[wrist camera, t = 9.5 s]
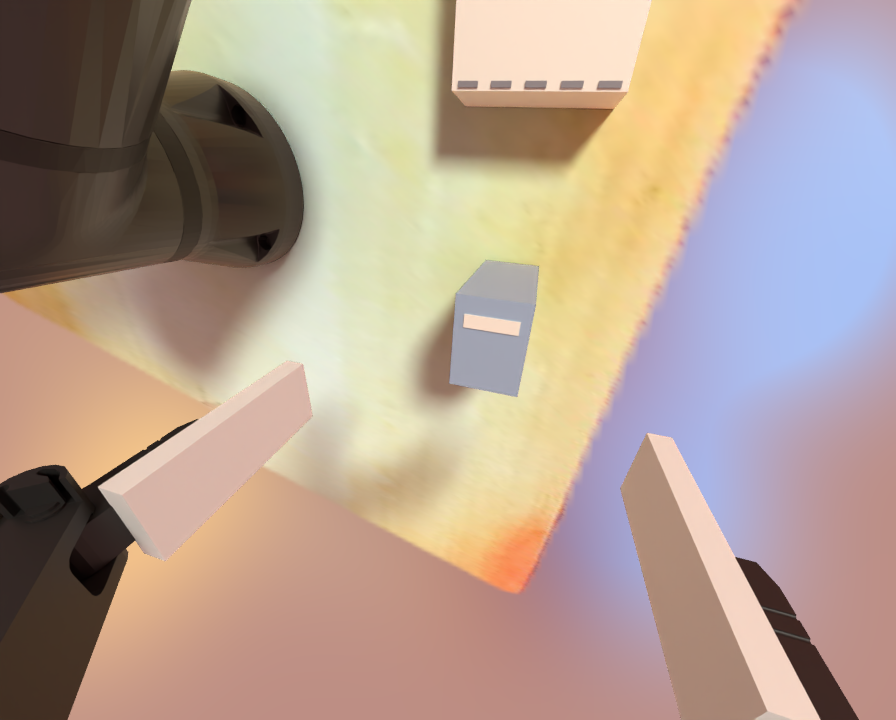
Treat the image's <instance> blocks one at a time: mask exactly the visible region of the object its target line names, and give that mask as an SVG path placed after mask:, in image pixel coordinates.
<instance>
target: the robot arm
mask: <svg viewBox="0 0 896 720" xmlns="http://www.w3.org/2000/svg"><path fill="white" fill-rule="evenodd" d="M190 4H191V0H0V293H4V292H10V291H15V290H21V289H26V288H31V287H37V286H42V285H48V284H53V283H59V282H64V281H69V280H75V279H80V278H86V277H91V276H96V275H102V274H107V273H113V272H118V271H124V270H129V269H134V268H140V267H145V266H151V265H156V264H161V263H166V262H172V261H178V260H185V261H192V262H199V263H207V264H214V265H221V266H229V267H237V268H246V267H254V266H258V265H262V264H266V263H270V262H273V261H275V260H277V259H279V258H281V257H282V256H283V255H285V254H286V253H287V252H288V251H289V249H290V248H291V247H292V245H293V244H294V242H295V240H296V238H297V236H298V233H299V230H300V227H301V223H302V217H303V191H302V184H301V178H300V174H299V170H298V166H297V163H296V160H295V157H294V155H293V152H292V150H291V148H290V146H289V143H288V141H287V139H286V138H285V136H284V134H283V132H282V131H281V129H280V127H279V126H278V124H277V123H276V121H275V120H274V119H273V117H272V116H271V115H270V114H269V112H268V111H267V110H266V109H265V108H264V107H263V106H262V105H261V104H260V103H259V102H258V101H257V100H256V99H255V98H254V97H253V96H251V95H250V94H249V93H248V92H246V91H245V90H243V89H242V88H240V87H238V86H236V85H234V84H232V83H230V82H227V81H225V80H222V79H219V78H216V77H213V76H210V75H207V74H204V73H201V72H195V71H188V70H179V71H171V69H172V65H173V62H174V58H175V55H176V51H177V48H178V45H179V41H180V38H181V34H182V31H183V27H184V24H185V20H186V17H187V14H188V10H189V7H190ZM312 416H313V415H312V409H311V404H310V399H309V393H308V388H307V383H306V377H305V372H304V367H303V364H301V363H296V362H291V361H286V362H284V363H283V364H281V365H280V366H278V367H277V368H275V369H274V370H272V371H271V372H269V373H268V374H266V375H265V376H263V377H262V378H260V379H259V380H257V381H256V382H254V383H253V384H251V385H250V386H248V387H247V388H245V389H244V390H242V391H241V392H239V393H238V394H236V395H235V396H233V397H232V398H230V399H229V400H227V401H226V402H224V403H223V404H221V405H220V406H218V407H217V408H215V409H214V410H212V411H211V412H209V413H208V414H206V415H205V416H203V417H202V418H200V419H196V420H194V421H192V422H189V423H187V424H185V425H182V426H180V427H177V428H176V429H174V430H173V431H171V432H170V433H168V434H167V435H165V436H164V437H162V438H161V440H160V441H158V440H157V441H156V442H154V443H153V444H151V445H150V446H148V447H147V449H146V450H142V451H140V452H139V453H137V454H136V455H134V456H133V457H131V458H130V459H128V460H127V461H125V462H124V463H122V464H121V465H119V466H117V467H116V468H114V469H113V470H111V471H110V472H108V473H107V474H105V475H103V476H102V477H100V478H99V479H97V480H96V481H94V482H93V483H91V484H90V485H88V486H86V487H84V488H83V489H81V488H80V486H79V485H78V484H77V482H76V481H75V480H74V478H73V477H72V476H71V474H70V473H69V472H68V470H67V469H66V468H65V467H64V466H59V465H49V466H42V467H38V468H35V469H31V470H28V471H25V472H23V473H20V474H18V475H16V476H13V477H11V478H9V479H7V480H6V481H4V482H2V483H1V484H0V720H67V719H68V717H69V714H70V711H71V709H72V706H73V703H74V701H75V698H76V695H77V692H78V690H79V687H80V685H81V682H82V679H83V677H84V674H85V671H86V669H87V666H88V663H89V661H90V658H91V655H92V653H93V650H94V647H95V645H96V642H97V639H98V637H99V634H100V631H101V629H102V626H103V623H104V621H105V618H106V615H107V613H108V610H109V607H110V605H111V602H112V599H113V597H114V594H115V591H116V589H117V586H118V583H119V581H120V578H121V575H122V572H123V570H124V567H125V565H126V562H127V559H128V551H127V550H126V548H127V547H128V546H129V545H130V544H131V543H133V542H134V541H136V542H137V544H138V545H139V547H140V548H141V549H142V551H143V552H144V553H145V554H148V555H150V556H153V557H156V558H159V559H161V560H164V561H166V560H167V559H168V558H169V557H170V556H171V555H172V554H173V553H174V552H175V551H176V550H177V549H178V548H179V547H180V546H181V545H182V544H183V543H184V542H185V541H186V540H187V539H188V538H189V537H190V536H191V535H192V534H194V533H195V532H196V531H197V529H199V527H201V526H202V525H203V524H204V523H205V522H206V521H207V520H208V519H209V518H210V517H211V516H212V515H213V514H214V513H215V512H216V511H217V510H218V509H219V508H220V507H221V506H222V505H223V504H224V503H225V502H226V501H227V500H228V499H229V498H230V497H231V496H232V495H233V494H234V493H235V492H236V491H237V490H238V489H239V488H240V487H241V486H242V485H243V484H244V483H245V482H246V481H247V480H248V479H249V478H250V477H251V476H252V475H253V474H255V473H256V471H257V470H258V469H260V468H261V467H262V466H263V465H264V464H265V463H266V462H267V461H268V460H269V459H270V458H271V457H272V456H273V455H274V454H275V453H276V452H277V451H278V450H279V449H280V448H281V447H282V446H283V445H284V444H285V443H286V442H287V441H288V440H289V439H290V438H291V437H292V436H293V435H294V434H295V433H296V432H297V431H298V430H299V429H300V428H301V427H302V426H303V425H304V424H305V423H306V422H307V421H308V420H309V419H310V418H311V417H312ZM620 489H621V493H622V497H623V501H624V505H625V508H626V512H627V515H628V520H629V523H630V527H631V531H632V535H633V539H634V543H635V546H636V550H637V554H638V558H639V561H640V565H641V569H642V573H643V577H644V581H645V584H646V588H647V592H648V596H649V600H650V603H651V607H652V611H653V615H654V619H655V622H656V626H657V630H658V634H659V637H660V642H661V645H662V649H663V653H664V657H665V661H666V664H667V668H668V672H669V675H670V680H671V683H672V687H673V691H674V694H675V698H676V702H677V706H678V710H679V714H680V718H681V720H859V719H858V717H857V716H856V714H855V712H854V711H853V709H852V707H851V706H850V704H849V703H848V701H847V699H846V697H845V696H844V694H843V692H842V691H841V689H840V687H839V686H838V684H837V682H836V681H835V679H834V677H833V676H832V674H831V672H830V671H829V669H828V667H827V666H826V664H825V662H824V661H823V659H822V657H821V656H820V654H819V652H818V651H817V649H816V647H815V646H814V645H812V644H811V642H810V637H809V636H808V634H807V632H806V631H805V629H804V627H803V626H802V624H801V622H800V621H798V620H797V619H796V614H795V612H794V610H793V609H792V607H791V605H790V604H789V602H788V600H787V599H786V597H785V595H784V594H783V592H782V591H781V589H780V587H779V586H778V585H777V584H776V583H775V582H774V581H773V580H772V579H771V578H770V577H769V576H768V575H767V573H766V572H765V571H764V570H763V569H762V568H761V567H760V566H759V565H758V564H757V563H756V562H752V561H749V560H745V559H741V558H737V557H735V556H734V554H733V553H732V551H731V549H730V547H729V545H728V543H727V541H726V539H725V537H724V536H723V534H722V532H721V530H720V528H719V526H718V524H717V522H716V520H715V518H714V516H713V515H712V513H711V511H710V509H709V507H708V505H707V503H706V501H705V500H704V498H703V496H702V494H701V492H700V490H699V488H698V486H697V484H696V482H695V481H694V478H693V477H692V475H691V473H690V471H689V469H688V467H687V465H686V463H685V462H684V460H683V458H682V456H681V454H680V452H679V450H678V448H677V446H676V445H675V442H674V441H673V439H672V438H670V437H665V436H660V435H655V434H650V433H647V434H646V436H645V438H644V440H643V442H642V444H641V446H640V448H639V451H638V453H637V455H636V457H635V459H634V461H633V463H632V465H631V467H630V469H629V471H628V473H627V476H626V478H625V480H624V482H623V484H622V486H621V488H620Z"/></svg>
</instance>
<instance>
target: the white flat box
mask: <svg viewBox="0 0 896 720" xmlns="http://www.w3.org/2000/svg"><path fill="white" fill-rule="evenodd" d="M651 1H652V0H456V16H455V35H454V54H453V73H452V92H453V93H454V94H455V95H456V96H457V97H458V98H459V100H460V101H461V102H462V103H463V104H464V105H465V106H475V107H536V108H596V109H614V108H615V107H616V106H617V105H618V103H619V102H620V101H621V100H622V98H623V97H624V96H625V95H626V94H627V92H628V89H629V85H630V82H631V78H632V74H633V70H634V66H635V62H636V58H637V55H638V51H639V47H640V43H641V39H642V35H643V32H644V28H645V24H646V20H647V16H648V12H649V8H650V5H651Z"/></svg>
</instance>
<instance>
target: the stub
mask: <svg viewBox="0 0 896 720" xmlns="http://www.w3.org/2000/svg"><path fill="white" fill-rule="evenodd" d="M538 272H539V266H533V265H524V264H516V263H507V262H498V261H490V260H486V261H485V262H484V263H483V264H482V265H481V266H480V267H479V268H478V269H477V271H476V272H475V273H474V274H473V275H472V276H471V277H470V278H469V280H468V281H467V282H466V283H465V284H464V285H463V286H462V287H461V288H460V290H459V291H458V292H457V293H456V300H455V313H454V326H453V340H452V353H451V366H450V379H449V384H454V385H459V386H464V387H469V388H474V389H479V390H484V391H489V392H495V393H500V394H505V395H510V396H515V397H517V396H518V391H519V386H520V381H521V376H522V371H523V366H524V361H525V356H526V351H527V346H528V341H529V336H530V331H531V326H532V321H533V316H534V312H535V307H536V297H537V284H538Z"/></svg>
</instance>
